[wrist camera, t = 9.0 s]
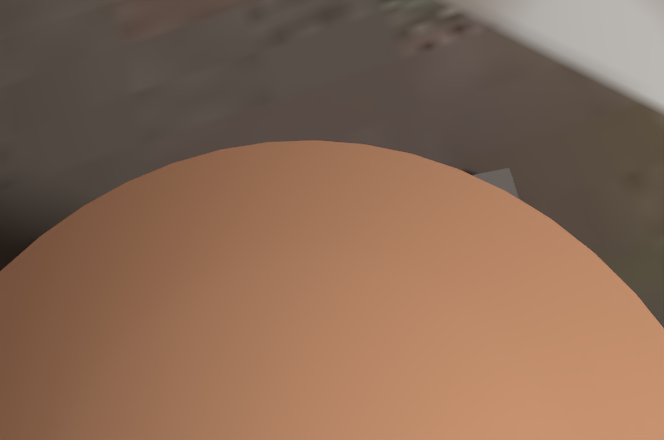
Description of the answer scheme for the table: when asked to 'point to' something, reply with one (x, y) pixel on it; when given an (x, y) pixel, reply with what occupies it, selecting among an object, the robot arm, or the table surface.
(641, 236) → the table surface
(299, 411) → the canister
